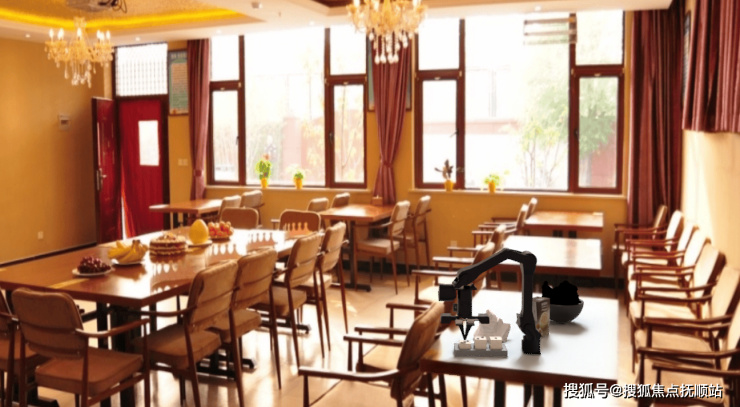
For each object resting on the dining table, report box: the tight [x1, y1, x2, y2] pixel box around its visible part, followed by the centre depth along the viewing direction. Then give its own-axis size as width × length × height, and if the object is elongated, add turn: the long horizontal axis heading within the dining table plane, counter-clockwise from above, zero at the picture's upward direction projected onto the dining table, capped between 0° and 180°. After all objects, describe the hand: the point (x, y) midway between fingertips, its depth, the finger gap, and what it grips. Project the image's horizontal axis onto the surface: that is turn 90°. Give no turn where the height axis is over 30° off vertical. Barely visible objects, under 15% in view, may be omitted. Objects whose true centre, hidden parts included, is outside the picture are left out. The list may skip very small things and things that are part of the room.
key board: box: [453, 342, 509, 358], centre depth 262 cm, size 20×9×2 cm, turn 86°
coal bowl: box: [541, 279, 585, 324], centre depth 304 cm, size 20×20×19 cm
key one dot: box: [490, 337, 503, 349], centre depth 262 cm, size 4×4×4 cm
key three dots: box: [458, 339, 472, 349], centre depth 263 cm, size 4×4×4 cm
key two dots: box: [473, 335, 487, 349], centre depth 262 cm, size 4×4×4 cm
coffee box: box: [532, 296, 551, 339], centre depth 283 cm, size 9×6×16 cm
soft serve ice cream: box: [473, 308, 511, 343], centre depth 278 cm, size 12×15×14 cm
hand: (464, 340), depth 262 cm, fingers closed
